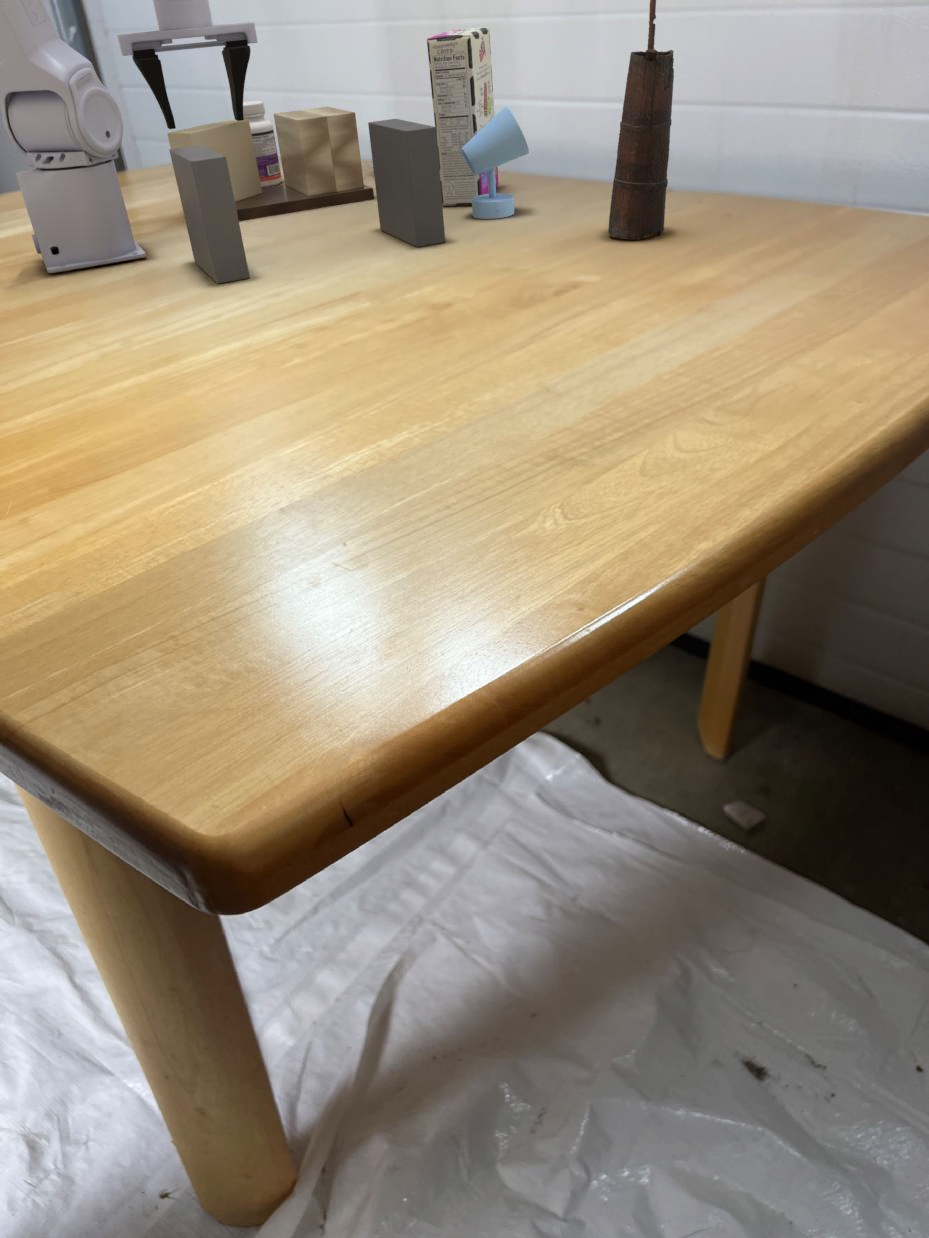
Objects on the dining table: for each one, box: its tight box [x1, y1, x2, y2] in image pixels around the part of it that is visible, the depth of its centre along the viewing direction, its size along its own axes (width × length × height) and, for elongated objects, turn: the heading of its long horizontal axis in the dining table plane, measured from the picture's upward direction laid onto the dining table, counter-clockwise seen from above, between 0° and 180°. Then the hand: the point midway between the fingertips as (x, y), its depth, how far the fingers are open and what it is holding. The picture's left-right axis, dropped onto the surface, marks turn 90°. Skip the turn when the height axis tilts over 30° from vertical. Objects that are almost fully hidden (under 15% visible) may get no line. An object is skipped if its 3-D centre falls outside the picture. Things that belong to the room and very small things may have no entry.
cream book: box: [166, 119, 262, 202], centre depth 108 cm, size 4×10×8 cm, turn 151°
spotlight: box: [461, 105, 530, 220], centre depth 96 cm, size 5×10×7 cm
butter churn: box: [607, 0, 675, 240], centre depth 78 cm, size 9×10×28 cm
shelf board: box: [235, 106, 375, 221], centre depth 110 cm, size 20×12×9 cm, turn 115°
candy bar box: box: [426, 26, 500, 207], centre depth 103 cm, size 11×5×16 cm, turn 168°
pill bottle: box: [243, 100, 283, 188], centre depth 123 cm, size 5×5×10 cm
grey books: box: [169, 118, 446, 285], centre depth 87 cm, size 22×10×10 cm, turn 115°
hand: (205, 124), depth 105 cm, fingers open, 7 cm apart
